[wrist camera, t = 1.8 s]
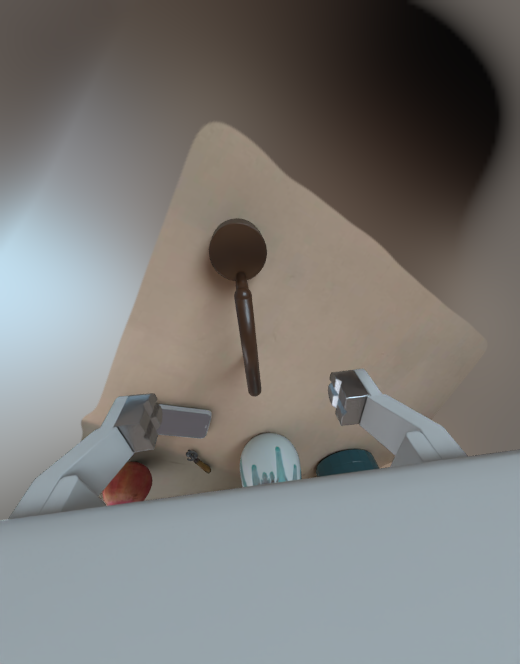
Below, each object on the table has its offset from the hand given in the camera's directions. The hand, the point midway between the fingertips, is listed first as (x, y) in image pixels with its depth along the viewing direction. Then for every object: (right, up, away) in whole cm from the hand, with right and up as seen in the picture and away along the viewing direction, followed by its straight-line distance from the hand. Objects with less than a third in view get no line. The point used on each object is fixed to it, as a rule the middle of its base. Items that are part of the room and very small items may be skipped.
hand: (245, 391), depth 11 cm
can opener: (-12, -24, +39) cm, 47 cm away
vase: (+2, -20, +38) cm, 43 cm away
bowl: (+21, -30, +46) cm, 59 cm away
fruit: (-25, -24, +37) cm, 51 cm away
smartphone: (-16, -12, +31) cm, 37 cm away
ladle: (-1, +7, +19) cm, 21 cm away
